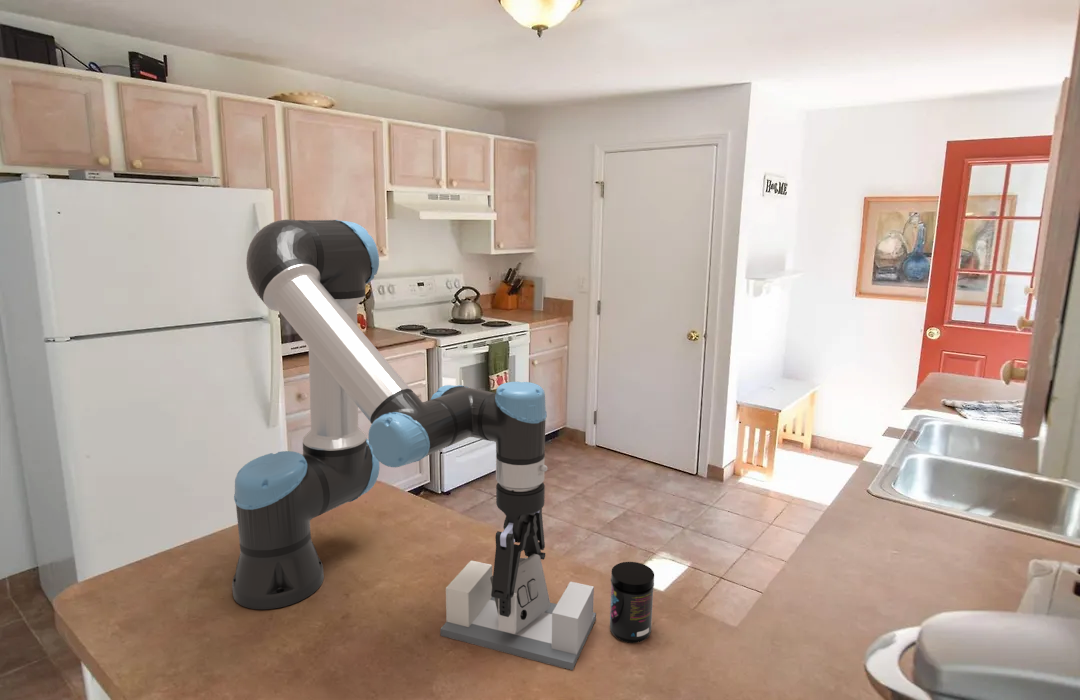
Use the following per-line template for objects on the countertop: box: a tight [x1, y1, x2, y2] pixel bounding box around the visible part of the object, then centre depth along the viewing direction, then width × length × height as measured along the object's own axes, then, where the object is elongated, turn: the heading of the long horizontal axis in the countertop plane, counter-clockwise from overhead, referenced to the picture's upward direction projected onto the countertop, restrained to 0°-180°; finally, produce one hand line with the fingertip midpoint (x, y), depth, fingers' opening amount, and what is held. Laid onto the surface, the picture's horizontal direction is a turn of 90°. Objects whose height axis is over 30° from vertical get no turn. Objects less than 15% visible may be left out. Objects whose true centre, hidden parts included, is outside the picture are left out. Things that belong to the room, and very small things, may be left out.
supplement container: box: [609, 561, 655, 644], centre depth 100 cm, size 7×7×10 cm
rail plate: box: [440, 559, 597, 671], centre depth 101 cm, size 22×13×7 cm, turn 70°
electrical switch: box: [490, 554, 551, 633], centre depth 101 cm, size 9×5×9 cm, turn 141°
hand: (519, 612), depth 101 cm, fingers closed on electrical switch, 9 cm apart
